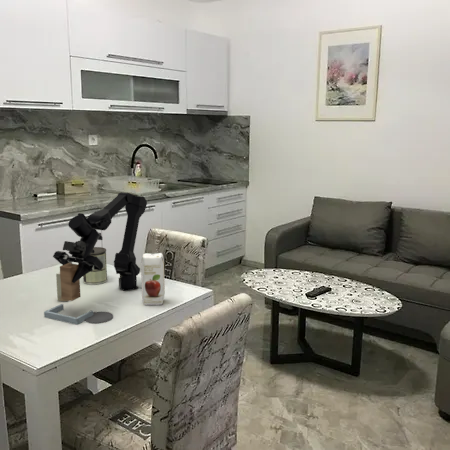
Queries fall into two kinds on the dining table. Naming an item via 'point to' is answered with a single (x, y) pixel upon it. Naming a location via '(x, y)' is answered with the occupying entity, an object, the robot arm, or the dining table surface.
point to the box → (59, 288)
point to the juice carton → (152, 279)
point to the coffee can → (97, 275)
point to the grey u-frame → (54, 315)
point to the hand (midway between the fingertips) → (67, 281)
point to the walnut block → (69, 282)
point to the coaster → (100, 317)
